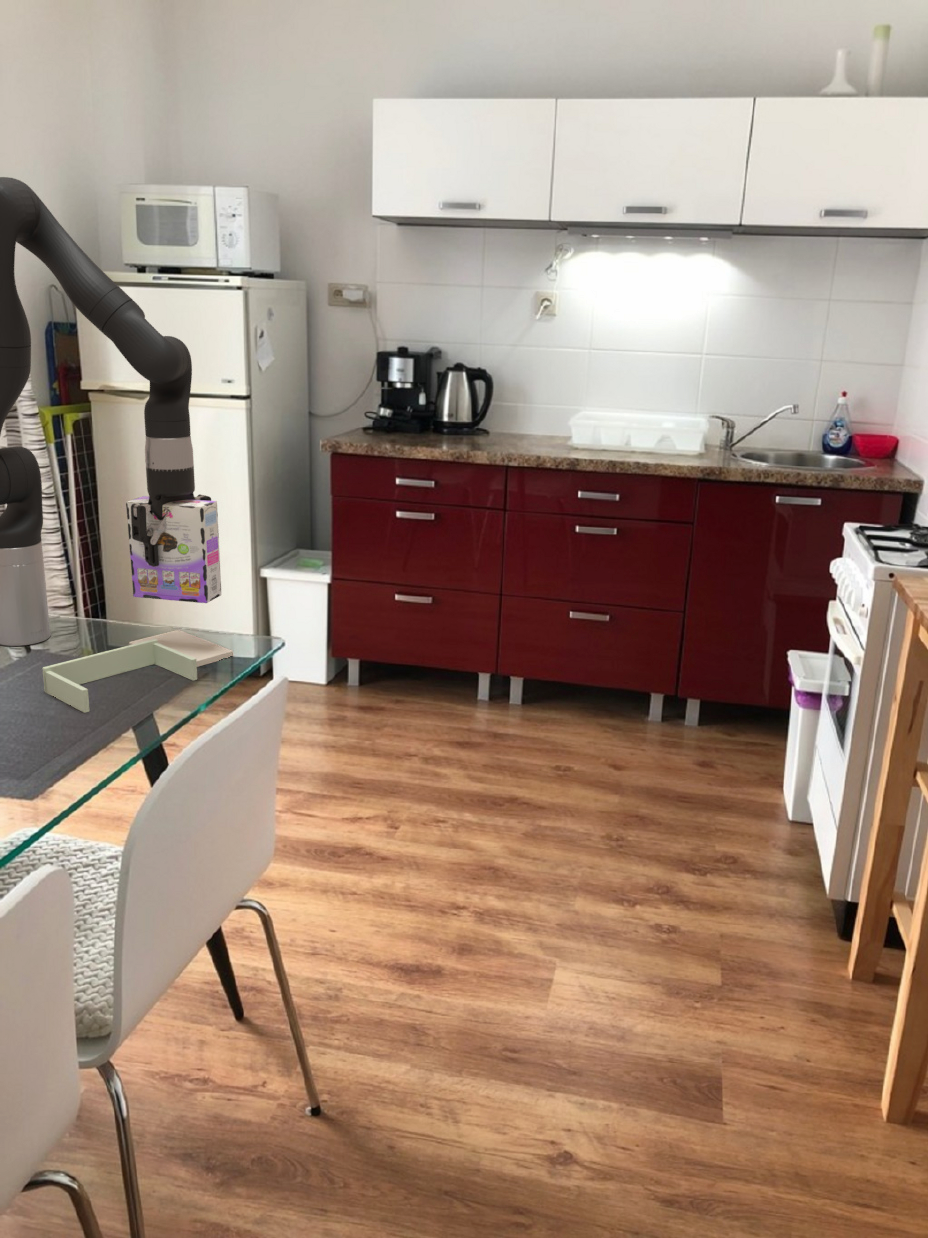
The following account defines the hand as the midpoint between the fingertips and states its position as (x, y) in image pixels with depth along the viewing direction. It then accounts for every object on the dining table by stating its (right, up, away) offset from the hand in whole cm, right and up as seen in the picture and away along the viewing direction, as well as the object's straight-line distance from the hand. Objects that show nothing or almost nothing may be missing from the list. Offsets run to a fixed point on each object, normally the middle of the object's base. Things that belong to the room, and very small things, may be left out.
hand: (175, 561), depth 174 cm
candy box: (0, -6, +2) cm, 6 cm away
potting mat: (0, -15, +5) cm, 16 cm away
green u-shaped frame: (-5, -20, -11) cm, 24 cm away
